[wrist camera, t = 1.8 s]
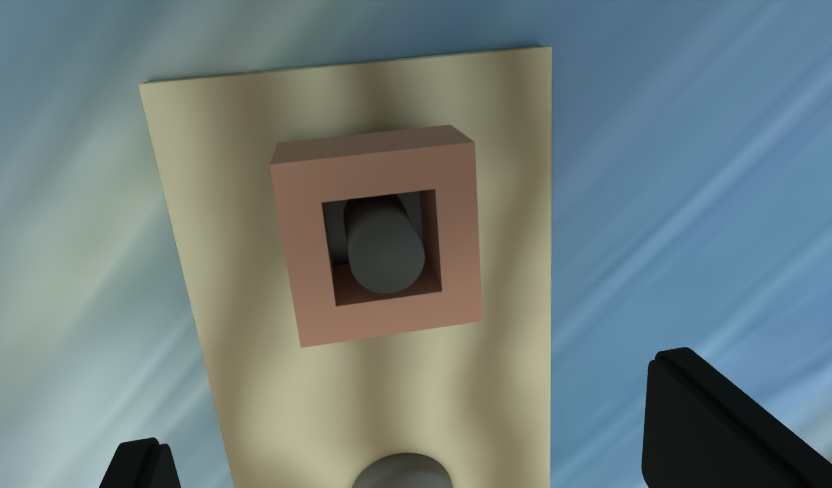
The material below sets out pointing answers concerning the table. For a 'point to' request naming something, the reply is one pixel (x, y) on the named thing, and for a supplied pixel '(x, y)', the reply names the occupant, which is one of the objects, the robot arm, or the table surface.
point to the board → (378, 373)
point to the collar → (373, 176)
